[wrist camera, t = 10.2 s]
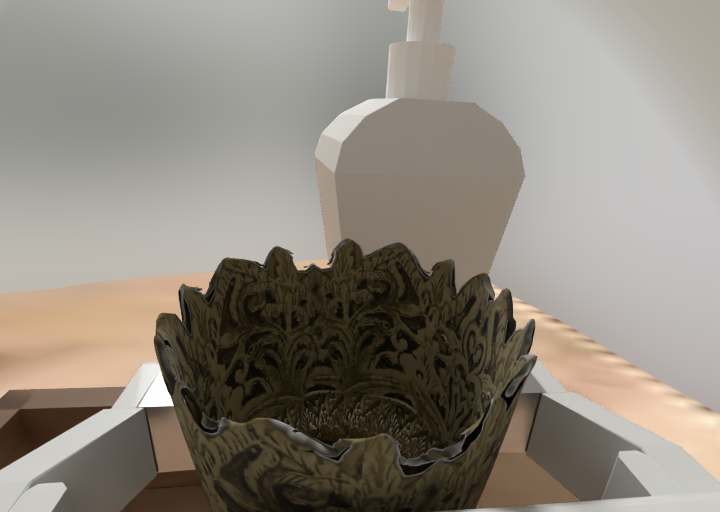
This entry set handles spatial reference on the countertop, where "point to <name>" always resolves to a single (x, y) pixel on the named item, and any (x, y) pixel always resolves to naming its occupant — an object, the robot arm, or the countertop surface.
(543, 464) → the robot arm
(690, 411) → the countertop surface
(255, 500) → the cup
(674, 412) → the countertop surface
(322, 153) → the soap bottle
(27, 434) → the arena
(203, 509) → the countertop surface
